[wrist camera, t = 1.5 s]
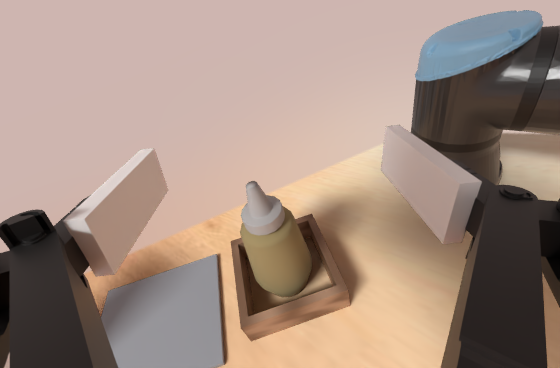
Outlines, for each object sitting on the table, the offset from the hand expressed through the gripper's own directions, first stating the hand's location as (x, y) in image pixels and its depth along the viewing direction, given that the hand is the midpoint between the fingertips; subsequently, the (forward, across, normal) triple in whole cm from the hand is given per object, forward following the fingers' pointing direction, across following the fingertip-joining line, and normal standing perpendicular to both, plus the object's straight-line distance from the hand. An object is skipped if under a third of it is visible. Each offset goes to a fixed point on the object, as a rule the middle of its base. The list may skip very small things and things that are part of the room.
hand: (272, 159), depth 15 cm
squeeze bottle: (+12, 0, -24) cm, 27 cm away
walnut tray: (+12, 0, -24) cm, 27 cm away
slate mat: (+10, -18, -28) cm, 34 cm away
